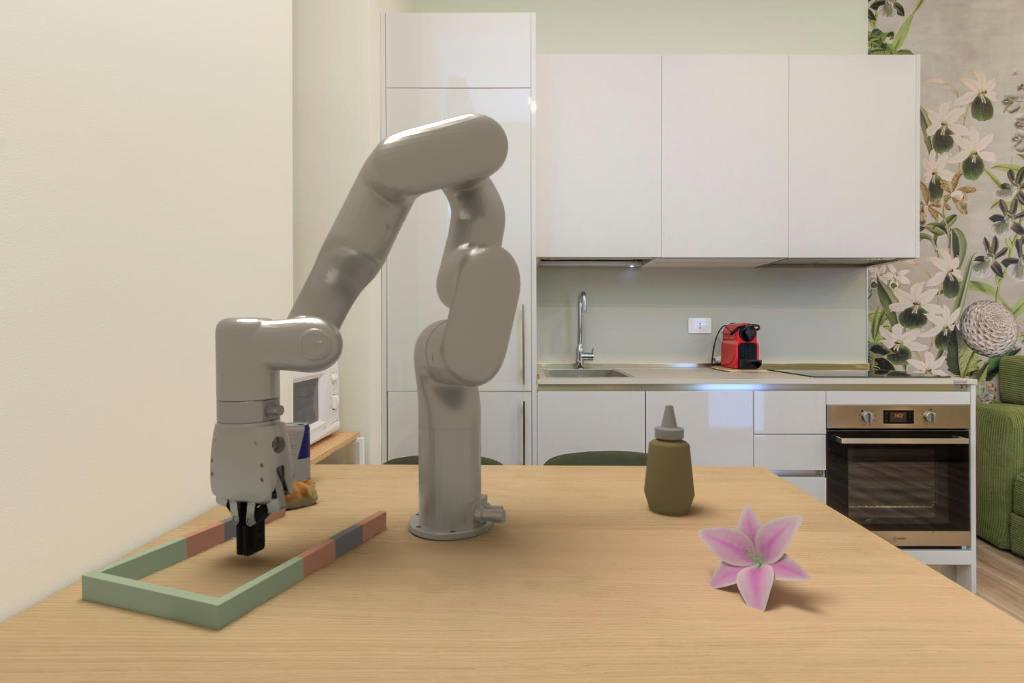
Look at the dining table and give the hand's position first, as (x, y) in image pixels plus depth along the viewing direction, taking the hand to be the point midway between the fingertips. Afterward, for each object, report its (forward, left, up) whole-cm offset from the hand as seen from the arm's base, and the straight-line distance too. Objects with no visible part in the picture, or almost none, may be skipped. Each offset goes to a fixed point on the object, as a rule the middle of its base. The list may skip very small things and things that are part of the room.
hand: (251, 551), depth 72 cm
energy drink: (+21, -32, -2) cm, 38 cm away
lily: (-62, -15, -2) cm, 64 cm away
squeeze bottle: (-50, -38, -2) cm, 63 cm away
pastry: (+15, -20, -3) cm, 25 cm away
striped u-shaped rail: (0, -1, -2) cm, 2 cm away
